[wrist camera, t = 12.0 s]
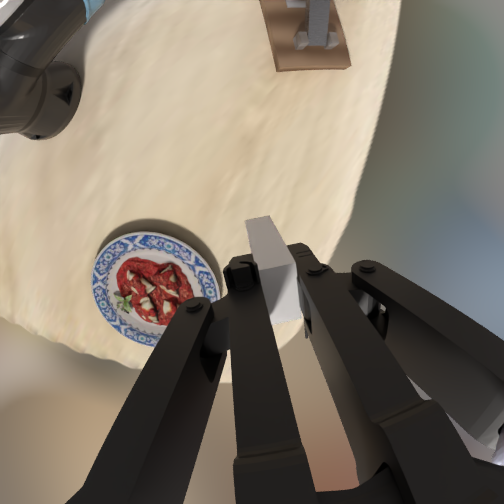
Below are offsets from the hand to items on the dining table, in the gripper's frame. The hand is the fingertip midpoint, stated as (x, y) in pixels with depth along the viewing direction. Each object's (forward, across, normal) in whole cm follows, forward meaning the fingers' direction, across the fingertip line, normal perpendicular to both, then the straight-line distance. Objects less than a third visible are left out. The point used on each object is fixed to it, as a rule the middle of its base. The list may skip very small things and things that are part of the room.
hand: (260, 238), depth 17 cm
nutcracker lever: (+24, +15, +20) cm, 35 cm away
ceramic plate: (+29, -20, -18) cm, 39 cm away
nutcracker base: (+28, +15, +26) cm, 41 cm away
